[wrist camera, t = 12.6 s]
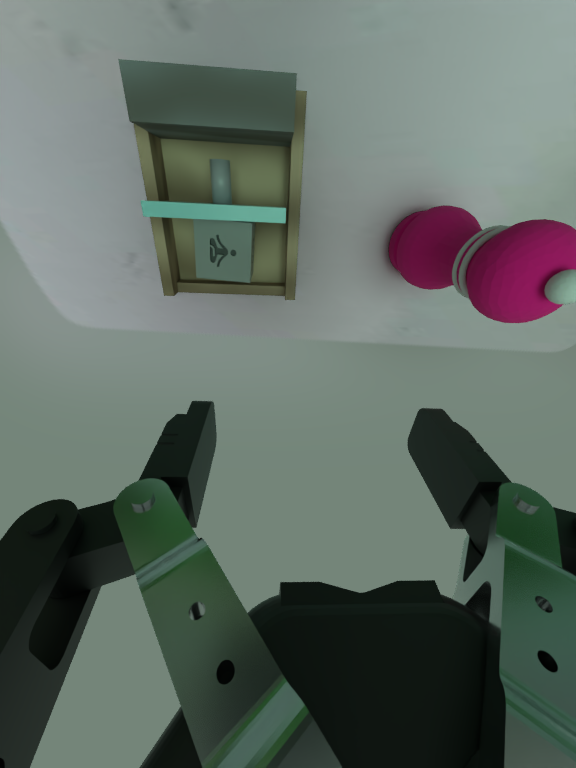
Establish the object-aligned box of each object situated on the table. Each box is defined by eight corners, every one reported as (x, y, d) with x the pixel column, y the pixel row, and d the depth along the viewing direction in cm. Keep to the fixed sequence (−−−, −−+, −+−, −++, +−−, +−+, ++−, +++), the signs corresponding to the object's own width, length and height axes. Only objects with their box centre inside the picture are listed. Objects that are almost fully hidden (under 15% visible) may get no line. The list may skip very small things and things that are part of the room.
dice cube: (205, 214, 29) (192, 216, 25) (255, 220, 29) (252, 223, 25) (206, 267, 31) (196, 277, 27) (253, 272, 32) (250, 282, 28)
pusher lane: (144, 93, 25) (102, 58, 19) (302, 104, 25) (311, 74, 19) (174, 286, 33) (152, 305, 27) (292, 291, 34) (296, 309, 28)
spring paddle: (167, 162, 26) (130, 147, 20) (284, 169, 27) (287, 157, 20) (174, 213, 28) (143, 216, 22) (282, 218, 29) (285, 223, 22)
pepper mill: (399, 291, 34) (522, 377, 17) (372, 235, 31) (491, 273, 14) (459, 252, 32) (664, 307, 15) (437, 188, 29) (667, 168, 12)
